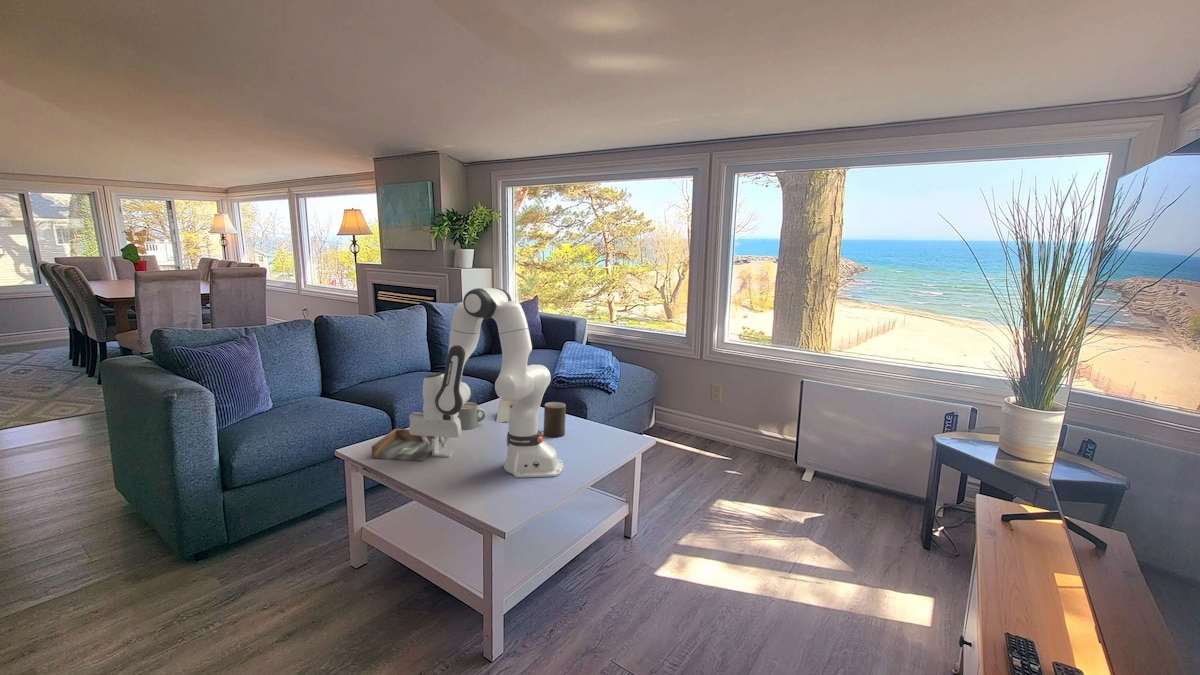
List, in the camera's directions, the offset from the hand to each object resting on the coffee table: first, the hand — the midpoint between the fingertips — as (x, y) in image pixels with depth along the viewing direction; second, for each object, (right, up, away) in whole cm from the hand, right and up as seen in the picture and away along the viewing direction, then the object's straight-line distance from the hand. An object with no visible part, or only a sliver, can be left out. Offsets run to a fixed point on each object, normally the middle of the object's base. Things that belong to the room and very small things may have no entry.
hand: (435, 446), depth 200 cm
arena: (-12, -2, +3) cm, 13 cm away
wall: (+23, +3, +46) cm, 52 cm away
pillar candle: (+45, 0, +27) cm, 53 cm away
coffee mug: (+5, +2, +33) cm, 33 cm away
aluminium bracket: (+3, -3, 0) cm, 4 cm away
